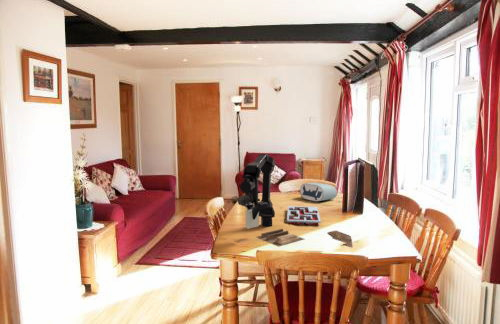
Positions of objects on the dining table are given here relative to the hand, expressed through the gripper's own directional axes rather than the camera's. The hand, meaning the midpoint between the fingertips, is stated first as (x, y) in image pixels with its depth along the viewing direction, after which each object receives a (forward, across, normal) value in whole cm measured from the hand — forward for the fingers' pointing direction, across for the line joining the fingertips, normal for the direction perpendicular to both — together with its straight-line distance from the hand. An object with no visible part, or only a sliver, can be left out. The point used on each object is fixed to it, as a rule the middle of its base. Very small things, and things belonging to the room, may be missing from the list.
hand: (252, 218), depth 184 cm
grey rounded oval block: (+12, -44, +98) cm, 108 cm away
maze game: (+12, -14, +51) cm, 54 cm away
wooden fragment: (+12, +27, +38) cm, 48 cm away
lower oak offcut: (+10, +14, +11) cm, 21 cm away
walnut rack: (+11, +9, +11) cm, 18 cm away
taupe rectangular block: (+4, 0, 0) cm, 4 cm away
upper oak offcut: (+9, +14, +10) cm, 20 cm away
